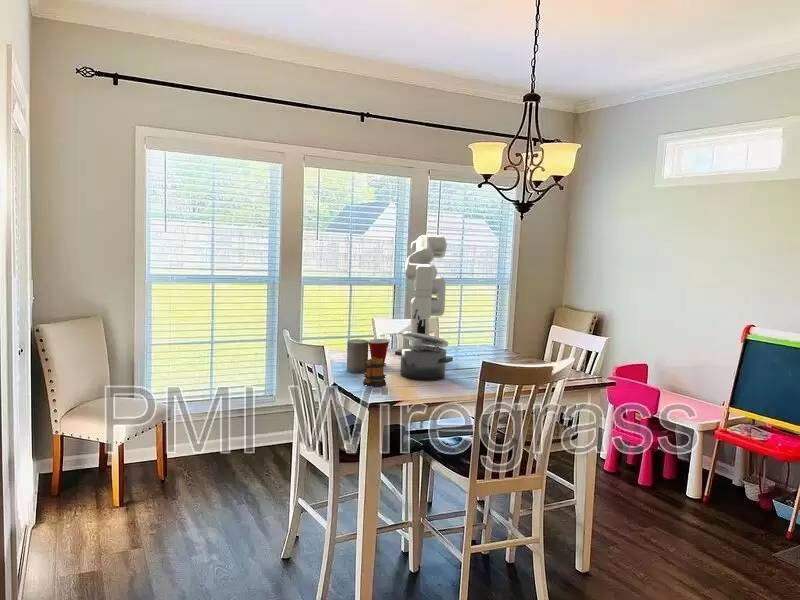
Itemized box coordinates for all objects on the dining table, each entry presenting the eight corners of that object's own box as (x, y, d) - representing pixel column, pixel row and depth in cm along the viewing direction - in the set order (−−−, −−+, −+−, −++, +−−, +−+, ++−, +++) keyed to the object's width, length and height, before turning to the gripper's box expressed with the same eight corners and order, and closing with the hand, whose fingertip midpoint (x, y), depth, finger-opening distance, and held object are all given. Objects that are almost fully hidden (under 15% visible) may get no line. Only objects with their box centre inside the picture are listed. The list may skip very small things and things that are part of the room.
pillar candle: (370, 369, 288) (371, 337, 287) (363, 373, 279) (364, 340, 278) (351, 367, 291) (352, 335, 290) (342, 371, 282) (343, 338, 281)
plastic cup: (369, 361, 307) (370, 337, 306) (390, 363, 305) (392, 338, 304) (363, 365, 297) (364, 340, 295) (386, 367, 295) (387, 342, 293)
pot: (386, 375, 279) (387, 348, 278) (407, 367, 296) (409, 342, 295) (438, 384, 266) (440, 356, 265) (458, 376, 284) (459, 350, 282)
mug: (369, 380, 268) (370, 353, 267) (390, 383, 264) (392, 356, 263) (354, 386, 256) (355, 358, 255) (377, 390, 252) (378, 361, 251)
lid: (393, 332, 276) (395, 326, 277) (414, 343, 295) (416, 337, 295) (436, 338, 266) (438, 331, 266) (455, 349, 284) (456, 343, 285)
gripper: (423, 291, 282) (421, 332, 284) (407, 293, 269) (405, 336, 271) (438, 293, 279) (436, 334, 281) (423, 295, 266) (420, 338, 268)
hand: (421, 334), depth 276 cm, fingers closed
